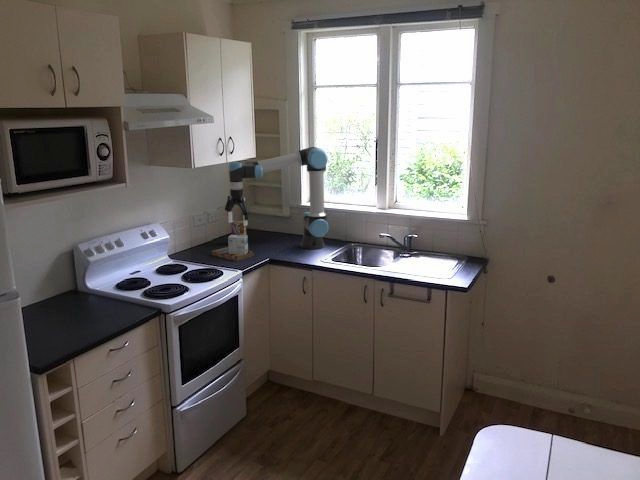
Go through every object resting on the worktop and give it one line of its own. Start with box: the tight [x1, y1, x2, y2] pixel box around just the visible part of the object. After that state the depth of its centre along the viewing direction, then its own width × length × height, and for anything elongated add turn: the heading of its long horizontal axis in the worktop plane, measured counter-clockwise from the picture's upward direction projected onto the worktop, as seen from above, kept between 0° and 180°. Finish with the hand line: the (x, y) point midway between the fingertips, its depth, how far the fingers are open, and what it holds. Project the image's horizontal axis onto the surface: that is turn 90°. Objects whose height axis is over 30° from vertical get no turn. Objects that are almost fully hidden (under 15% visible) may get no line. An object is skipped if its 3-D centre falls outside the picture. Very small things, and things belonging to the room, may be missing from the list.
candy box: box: [230, 220, 247, 235], centre depth 368 cm, size 9×4×15 cm, turn 77°
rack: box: [210, 245, 256, 262], centre depth 341 cm, size 23×16×2 cm
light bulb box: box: [227, 234, 249, 254], centre depth 336 cm, size 11×7×11 cm, turn 84°
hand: (237, 223), depth 333 cm, fingers open, 13 cm apart
